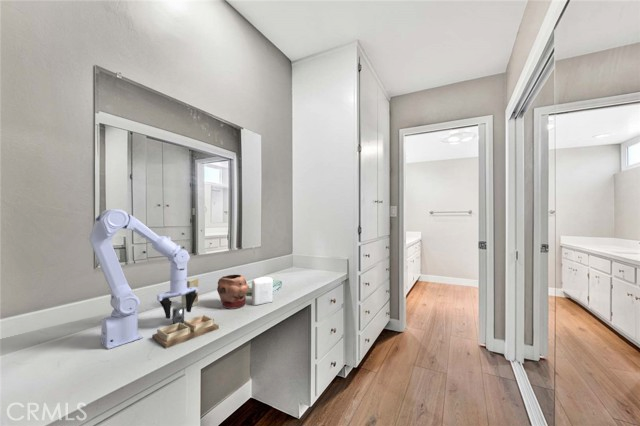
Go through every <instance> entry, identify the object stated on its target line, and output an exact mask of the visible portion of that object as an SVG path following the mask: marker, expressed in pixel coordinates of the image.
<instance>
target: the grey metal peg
mask: <svg viewBox="0 0 640 426" xmlns="http://www.w3.org/2000/svg"><path fill="white" fill-rule="evenodd" d="M171 311H172V314H171V315H172V316H171V318H172V319H171V325H173V324H176V323H182V324H184V321H185V308H184V307H181V306H176V307H172V310H171Z"/></svg>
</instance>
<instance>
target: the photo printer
mask: <svg viewBox="0 0 640 426" xmlns="http://www.w3.org/2000/svg"><path fill="white" fill-rule="evenodd" d="M273 280H274V279H273V278H272V277H268V276H262V277H258V278H255V279H253V280H251V281H252V296H251V305H252V306H258V305H262V304H269V303H273V297H274V296H273V295H274V293H273Z"/></svg>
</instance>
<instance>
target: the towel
mask: <svg viewBox="0 0 640 426" xmlns="http://www.w3.org/2000/svg"><path fill="white" fill-rule="evenodd" d="M272 280H273V292H274V291H275V292H277V291H279V290H280V289H281V288H282V285H283V282H282V280H277V279H272ZM252 281H253V280H251V281H249V282H247V284H248V286H249V291H248V292H246V294H245V296H250V297H252ZM279 288H280V289H279ZM278 289H279V290H278ZM276 290H277V291H276ZM275 292H274V293H275Z"/></svg>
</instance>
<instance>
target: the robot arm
mask: <svg viewBox="0 0 640 426" xmlns="http://www.w3.org/2000/svg"><path fill="white" fill-rule="evenodd" d="M121 229H123V230H130V231H133V232H134V233H136V234H137V235H138V236H140V237H142V238H144V239H145V240H147V241H148V242H149V243H151V247H152V249H153V250H155V251H156V252H158V253H160V254H161V255H162V256H164V257H165V258H167V260H168V262H170V275H169V277H170V278H169V280H170V282H169V283H170V288H169V291H166V292H163V293H160V294H157V295H156V300H157V301H158V302H159V303H160V304H161V306H162V308H163V312H164V315H165V318H166V319H168V320H169V319H171V317H172V316H171V315H172V314H171V307H172V303H173V301H172V300H171V299H172V298H176V297H182V295H185V297H186V308H185V310H186V313H191V312H192V307H193V306H192V305H193V302H194V300H195V298H196V296H197V293H195V292H198V293H199V286H198V287H190V288H187V279H188V262H189V261H190V259H191V255H190V254H189V252H188V250H186V249H182V248H181V247H182V246H181V245H180V244H177V243H175V242H174V241H172V238H171V237H170V236H166V235H158V234H157V233H155V232H154V231H153V230H151V229H150V228H149V227H148V226H147V225H146V224H144V223H143V222H142V221H140V220H139V219H137V218H136V217H135V216H134V215H131V214H129V213H127V212H126V211H125V210H123V209H121V208H120V209H119V208H114V209H106V210H102V212H100V214H98V216H97V217H96V218H95V220H94V223H93V227H92V229H91V231H90V234H89V238H88V239H89V242H90V245H91V248H92V249H93V253H94V255H95V257H96V259H97V260H96V261H98V264H99V266H100V269H101V272H102V274H103V275H104V278H105V281H106V284H107V286H108V288H109V294H110V301H109V303H110V306H111V307H112V308H113V310H112V312H111V313H110V315H109V316H107V317H104V318H102V320H101V334H100V335H101V336H100V337H101V338H100V343H101V344H102V345H103V346H104V347H105V348H106V349H108V350H109V349H112V348H116V347H119V346H121V345H125V344H128V343H131V342H134V341H137V340H141V339H142V338H143V335H141V334H140V333H138V332H139V331H138V326H139V325H138V324H139V322H138V321H139V307H141V306H140V305H141V300H140V298H139V297H138V296H137V295H135V294H134V293H133V289H132V288H131V287H130V285H129V283H128V281H127V278H126V276H125V274H124V271H123V269H122V266H121V264H120V261H119V259H118V255H117V254H116V251H115V249H114V246H113V243H112V239H113V237H114V236H115V235H116V234H117V232H119V231H120V230H121Z"/></svg>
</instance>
